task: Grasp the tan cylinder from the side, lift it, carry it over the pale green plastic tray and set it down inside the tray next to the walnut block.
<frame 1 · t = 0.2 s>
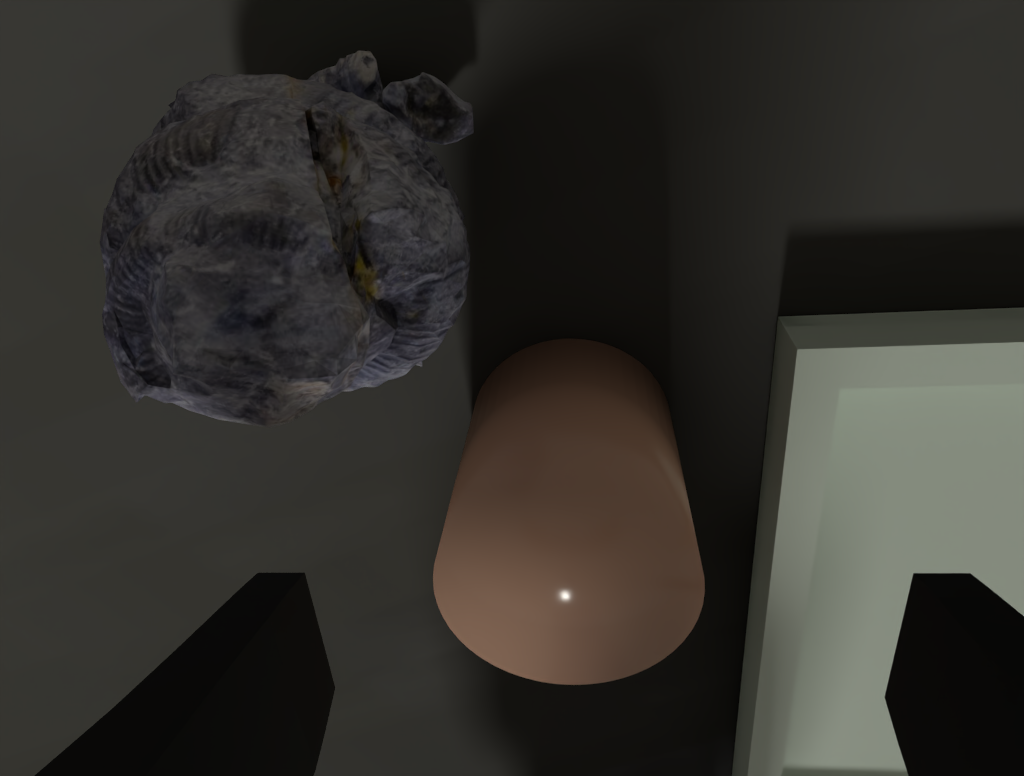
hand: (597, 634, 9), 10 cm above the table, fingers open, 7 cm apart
tan cylinder: (570, 428, 20), on the table
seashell: (381, 164, 17), on the table
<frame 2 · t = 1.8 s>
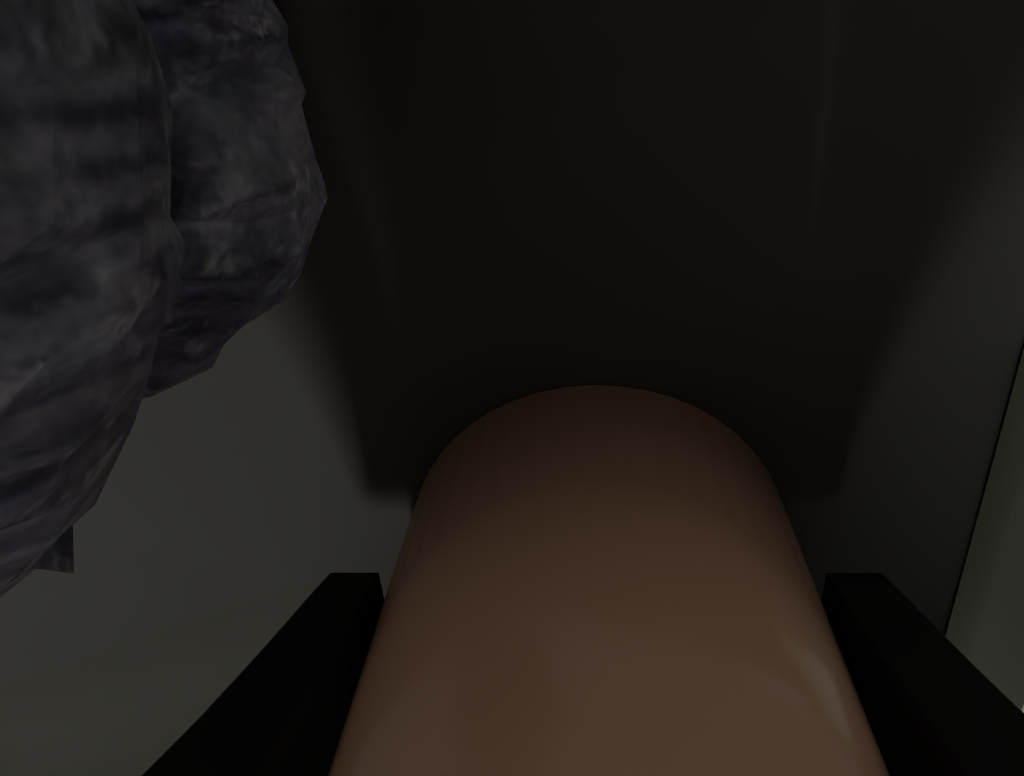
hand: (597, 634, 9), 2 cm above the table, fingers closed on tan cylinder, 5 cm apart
tan cylinder: (595, 547, 11), on the table, touching gripper
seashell: (201, 20, 8), on the table
when the fingers open (3 cm above the table, at t = 5.2 s): tan cylinder stays where it is, resting on tray.
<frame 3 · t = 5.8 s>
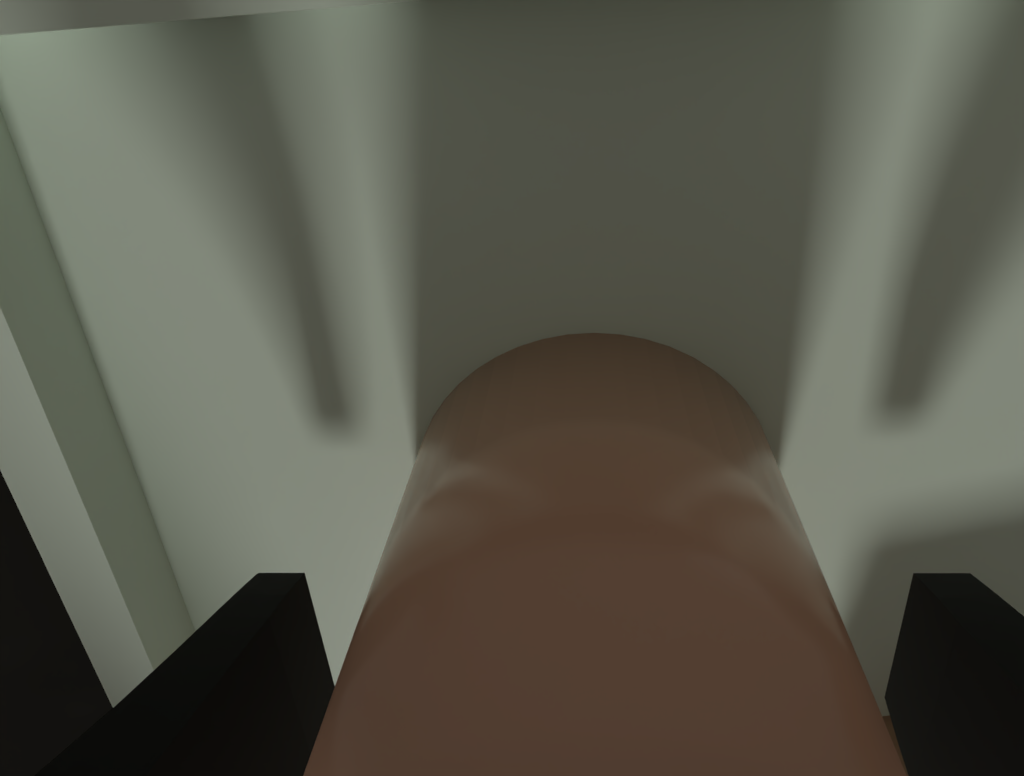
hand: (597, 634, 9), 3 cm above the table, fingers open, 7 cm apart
tan cylinder: (591, 494, 11), point 1 cm above the table, touching tray
tray: (657, 543, 12), on the table
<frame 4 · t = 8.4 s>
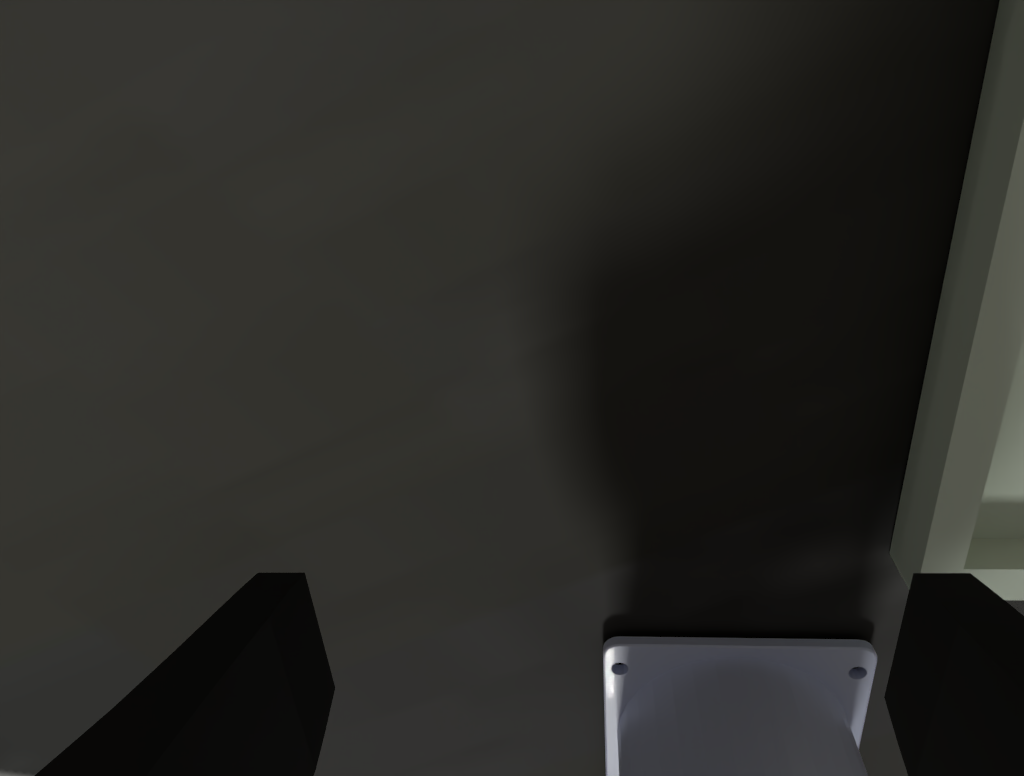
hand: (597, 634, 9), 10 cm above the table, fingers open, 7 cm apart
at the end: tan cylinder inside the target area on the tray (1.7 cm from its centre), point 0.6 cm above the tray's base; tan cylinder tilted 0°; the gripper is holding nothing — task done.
